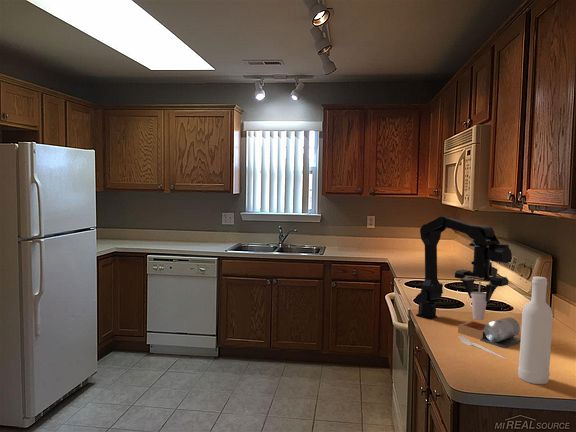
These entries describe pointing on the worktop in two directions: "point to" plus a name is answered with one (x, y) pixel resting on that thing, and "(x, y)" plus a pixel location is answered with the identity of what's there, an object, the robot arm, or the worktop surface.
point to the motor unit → (493, 331)
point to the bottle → (536, 336)
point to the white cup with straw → (478, 304)
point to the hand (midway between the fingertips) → (479, 300)
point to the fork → (478, 346)
